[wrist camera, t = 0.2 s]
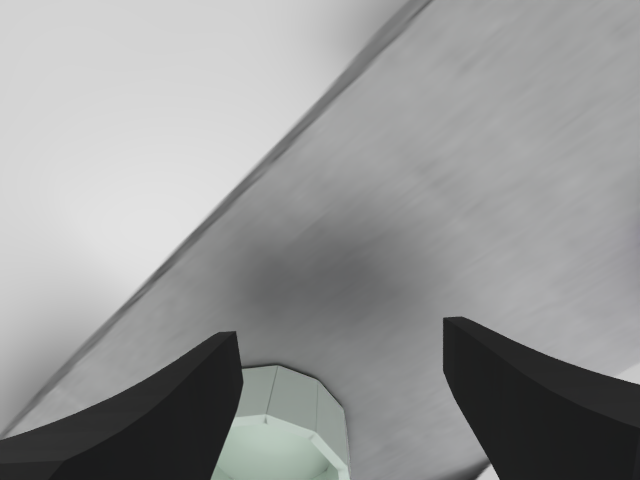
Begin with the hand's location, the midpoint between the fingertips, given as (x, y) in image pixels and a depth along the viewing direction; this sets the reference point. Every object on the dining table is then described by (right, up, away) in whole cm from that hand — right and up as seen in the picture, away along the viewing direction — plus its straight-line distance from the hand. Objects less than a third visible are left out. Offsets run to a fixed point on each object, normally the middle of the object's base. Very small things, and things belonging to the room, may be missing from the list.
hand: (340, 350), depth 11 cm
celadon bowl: (-4, -10, +13) cm, 17 cm away
